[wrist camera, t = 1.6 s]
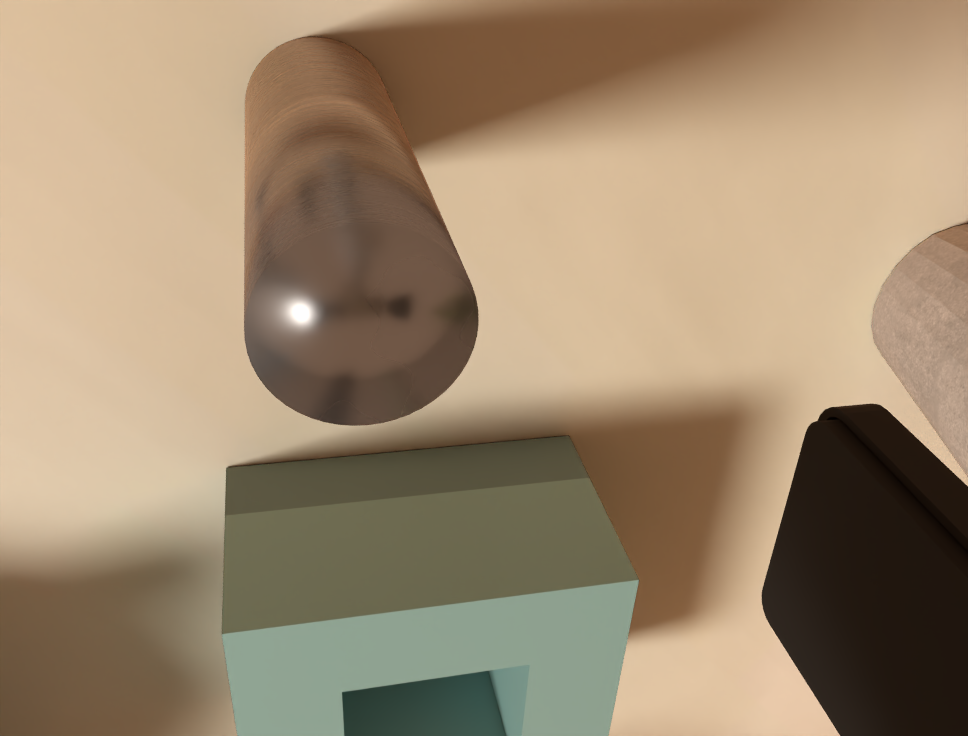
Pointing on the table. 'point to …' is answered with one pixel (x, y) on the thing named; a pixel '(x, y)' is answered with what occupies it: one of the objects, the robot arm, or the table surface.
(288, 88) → the pin
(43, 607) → the table surface
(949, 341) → the house plant
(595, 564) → the bore block
